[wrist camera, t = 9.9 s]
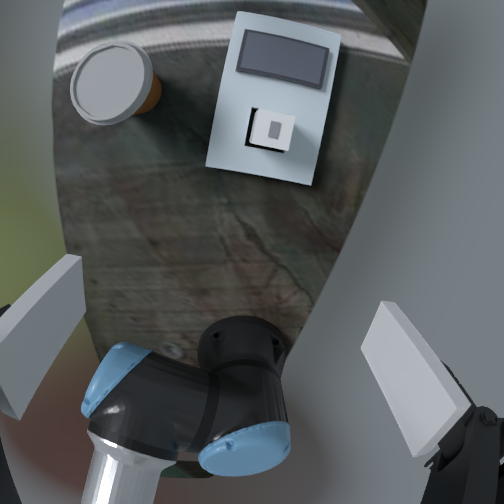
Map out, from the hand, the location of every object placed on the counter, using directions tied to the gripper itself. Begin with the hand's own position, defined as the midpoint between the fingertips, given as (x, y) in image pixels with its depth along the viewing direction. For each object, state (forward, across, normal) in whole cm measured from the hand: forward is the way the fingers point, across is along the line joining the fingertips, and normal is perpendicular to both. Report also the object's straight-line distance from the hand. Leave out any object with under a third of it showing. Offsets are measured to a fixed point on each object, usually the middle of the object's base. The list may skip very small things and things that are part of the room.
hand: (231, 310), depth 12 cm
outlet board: (+30, -3, -13) cm, 33 cm away
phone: (+28, -3, -18) cm, 34 cm away
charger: (+31, -3, -8) cm, 32 cm away
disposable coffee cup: (+31, +15, -11) cm, 36 cm away
